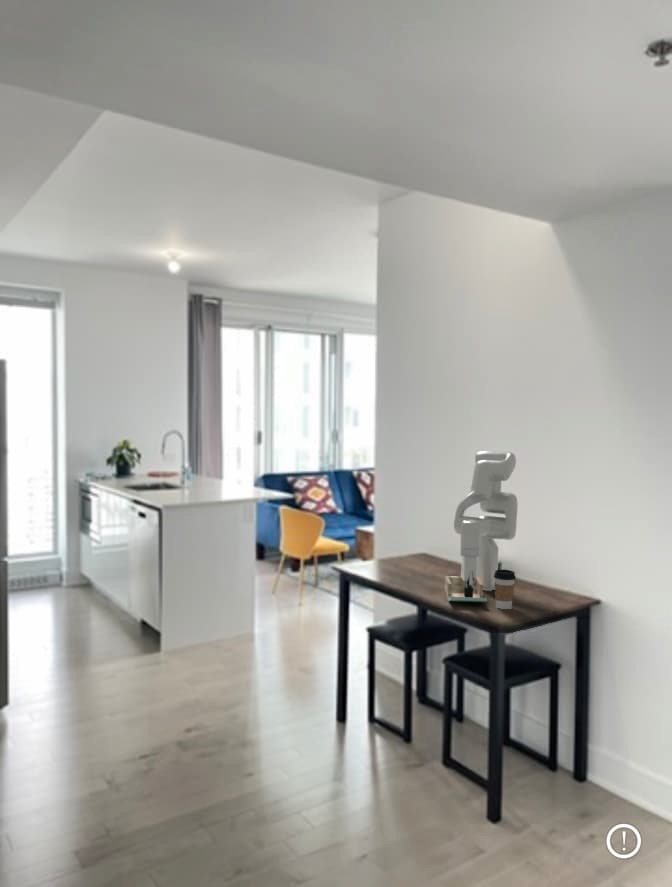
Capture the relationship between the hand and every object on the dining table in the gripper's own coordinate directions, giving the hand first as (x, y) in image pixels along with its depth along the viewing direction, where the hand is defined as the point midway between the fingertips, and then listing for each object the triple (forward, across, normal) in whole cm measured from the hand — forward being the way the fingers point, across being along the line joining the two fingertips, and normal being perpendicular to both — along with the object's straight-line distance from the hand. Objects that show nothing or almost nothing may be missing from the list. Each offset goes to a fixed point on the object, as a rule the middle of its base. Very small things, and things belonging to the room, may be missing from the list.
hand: (468, 597), depth 268 cm
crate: (+4, -13, 0) cm, 14 cm away
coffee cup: (+4, +1, +14) cm, 14 cm away
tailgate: (+4, -6, 0) cm, 7 cm away
